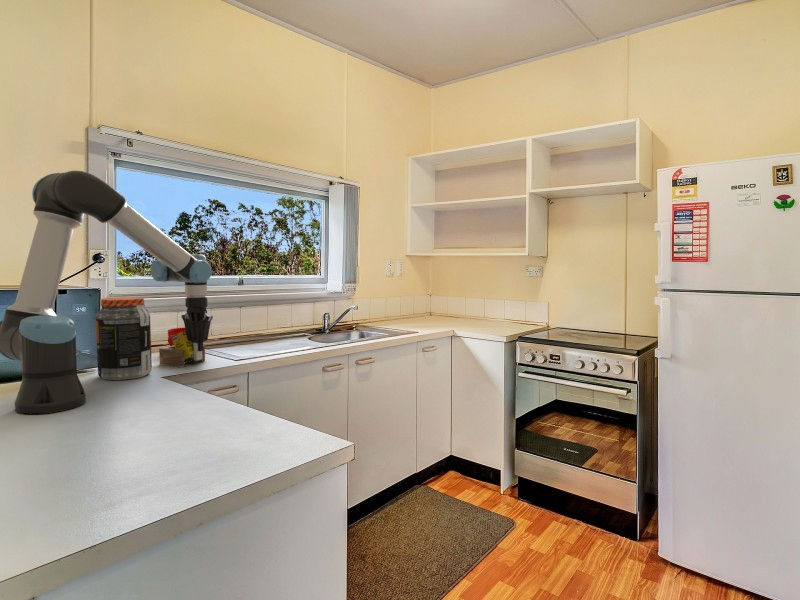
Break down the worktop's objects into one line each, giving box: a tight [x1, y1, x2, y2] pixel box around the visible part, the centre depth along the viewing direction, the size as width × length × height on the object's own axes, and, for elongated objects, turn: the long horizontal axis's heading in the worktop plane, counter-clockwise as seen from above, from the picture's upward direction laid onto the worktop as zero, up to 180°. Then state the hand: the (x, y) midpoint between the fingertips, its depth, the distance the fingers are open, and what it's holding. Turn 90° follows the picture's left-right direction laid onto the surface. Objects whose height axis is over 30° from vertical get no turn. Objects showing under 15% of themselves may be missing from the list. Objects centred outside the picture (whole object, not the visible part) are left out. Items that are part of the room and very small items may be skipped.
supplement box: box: [172, 331, 203, 364], centre depth 182 cm, size 6×6×11 cm
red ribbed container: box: [167, 327, 186, 346], centre depth 199 cm, size 13×17×10 cm
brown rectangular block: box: [158, 345, 206, 368], centre depth 183 cm, size 12×10×6 cm
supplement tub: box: [95, 297, 153, 381], centre depth 161 cm, size 16×16×26 cm
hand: (198, 359), depth 180 cm, fingers closed
